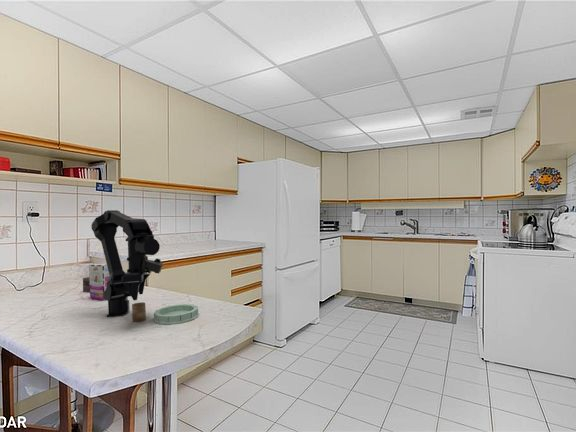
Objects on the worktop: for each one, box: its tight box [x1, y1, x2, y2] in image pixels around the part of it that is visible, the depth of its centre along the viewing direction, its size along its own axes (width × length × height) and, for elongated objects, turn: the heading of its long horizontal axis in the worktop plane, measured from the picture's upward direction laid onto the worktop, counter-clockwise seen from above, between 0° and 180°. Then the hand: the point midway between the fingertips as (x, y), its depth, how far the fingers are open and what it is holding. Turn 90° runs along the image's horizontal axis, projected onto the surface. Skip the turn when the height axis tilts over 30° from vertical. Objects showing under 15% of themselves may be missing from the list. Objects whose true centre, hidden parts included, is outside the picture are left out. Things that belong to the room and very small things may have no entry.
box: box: [82, 276, 90, 293], centre depth 168 cm, size 6×6×7 cm
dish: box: [153, 303, 199, 325], centre depth 117 cm, size 15×15×3 cm
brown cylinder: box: [131, 301, 147, 324], centre depth 115 cm, size 4×4×6 cm
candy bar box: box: [88, 263, 109, 302], centre depth 150 cm, size 11×5×16 cm, turn 62°
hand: (138, 297), depth 115 cm, fingers open, 9 cm apart
